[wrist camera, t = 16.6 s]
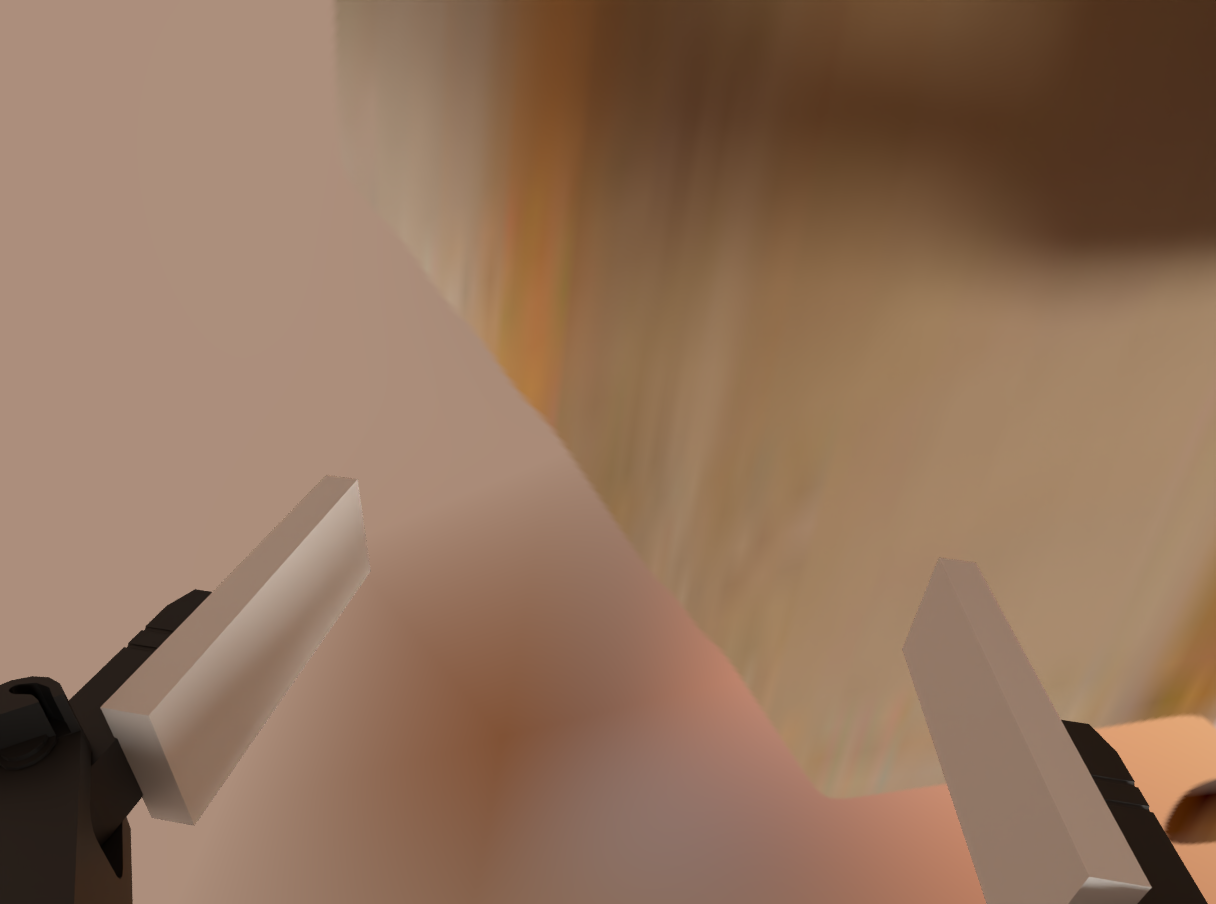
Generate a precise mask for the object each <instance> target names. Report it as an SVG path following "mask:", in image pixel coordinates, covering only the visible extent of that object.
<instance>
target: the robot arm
mask: <svg viewBox="0 0 1216 904" xmlns="http://www.w3.org/2000/svg"><path fill="white" fill-rule="evenodd" d="M370 571H371V570H370V563H369V556H368V548H367V542H366V534H365V528H364V521H363V514H362V507H361V500H360V493H359V486H358V479H352V478H345V477H337V476H330V475H326V476H325V477H324V478H323V479H322V480H321V481H320V482H319V483H318V484H317V485H316V486H315V487H314V488H313V489H312V490H311V491H310V492H309V493H308V494H307V495H306V496H305V497H304V498H303V499H302V500H301V501H300V503H299V504H298V505H297V506H296V507H295V508H294V509H293V510H292V511H291V512H290V513H289V514H288V515H287V516H286V517H285V518H284V519H283V520H282V521H281V522H280V523H279V524H278V525H277V526H276V527H275V528H274V530H272V531H271V532H270V533H269V534H268V535H267V536H266V538H265V539H264V540H263V541H262V542H261V543H260V544H259V545H258V546H257V547H256V548H255V549H254V550H253V551H252V552H251V553H250V554H249V555H248V556H247V557H246V558H245V559H244V560H243V561H242V562H241V563H240V564H239V565H238V566H237V567H236V568H235V569H234V570H233V572H232V573H230V575H229V576H228V577H227V578H226V579H225V580H224V581H223V582H222V583H221V584H220V585H219V586H218V587H217V588H216V589H215V590H214V591H213V592H209V591H202V590H196V589H195V590H193V591H191V592H190V593H188V594H186V595H185V596H183V597H181V598H180V599H178V600H176V601H175V602H173V603H171V604H169V605H167V606H166V607H165V608H164V609H163V610H162V611H161V612H160V613H159V614H158V615H157V616H156V617H155V618H154V619H153V620H152V621H151V622H150V623H149V624H148V625H146V628H145V630H144V631H143V630H142V631H140V632H139V633H138V634H137V635H136V636H135V637H134V638H133V639H132V640H131V641H130V642H129V643H128V647H127V648H125V647H124V648H123V649H122V650H121V651H120V652H119V653H118V654H117V655H116V656H114V657H113V658H112V659H111V660H110V661H109V662H108V663H107V665H105V666H104V667H103V668H102V669H101V670H100V671H99V672H98V673H97V674H96V675H95V676H94V677H93V678H92V679H91V680H90V681H89V682H88V683H87V684H86V685H85V686H83V687H82V689H80V690H79V692H77V693H76V694H75V695H74V696H73V697H72V698H71V699H70V700H69V701H68V699H67V697H66V695H65V693H64V691H63V689H62V687H61V685H60V683H58V682H56V681H54V680H53V679H51V678H49V677H33V676H32V677H27V678H22V679H17V680H11V681H9V682H6V683H4V684H2V685H0V904H132V866H131V829H130V826H129V823H128V820H127V817H126V816H127V815H128V814H129V812H130V811H131V810H132V809H133V808H134V806H135V805H136V804H137V802H138V801H139V800H140V799H141V797H142V798H143V800H144V802H145V804H146V806H147V808H148V811H149V813H150V815H151V817H152V818H156V819H161V820H167V821H172V822H178V823H183V824H188V825H195V824H196V822H197V821H198V820H199V818H200V817H201V815H202V814H203V812H204V811H205V810H206V808H207V807H208V805H209V804H210V802H211V801H212V800H213V798H214V796H215V795H216V794H217V792H218V791H219V789H220V788H221V787H222V785H223V784H224V782H225V780H226V779H227V778H228V776H229V775H230V774H231V772H232V771H233V769H234V768H235V766H236V765H237V763H238V762H239V761H240V759H241V758H242V756H243V755H244V753H245V752H246V750H247V749H248V747H249V746H250V744H251V743H252V742H253V740H254V739H255V737H256V736H257V735H258V733H259V732H260V730H261V729H262V727H263V726H264V724H265V723H266V722H267V720H268V719H269V717H270V716H271V714H272V713H273V711H274V710H275V709H276V707H277V706H278V704H279V703H280V701H281V700H282V698H283V697H284V696H285V694H286V693H287V691H288V690H289V688H290V687H291V685H292V684H293V683H294V681H295V680H296V678H297V677H298V675H299V674H300V672H301V671H302V670H303V668H304V667H305V665H306V664H307V662H308V661H309V659H310V658H311V657H312V655H313V654H314V652H315V651H316V649H317V648H318V646H319V645H320V643H321V642H322V640H323V639H324V638H325V636H326V635H327V633H328V632H329V630H330V629H331V628H332V626H333V625H334V623H335V622H336V620H337V619H338V618H339V616H340V615H341V613H342V612H343V610H344V609H345V607H346V606H347V605H348V603H349V602H350V600H351V599H352V597H353V596H354V594H355V593H356V592H357V590H358V589H359V587H360V586H361V584H362V583H363V581H364V580H365V579H366V577H367V576H368V574H369V573H370ZM902 650H903V653H904V656H905V659H906V662H907V665H908V668H909V671H910V674H911V677H912V680H913V683H914V686H915V689H916V692H917V695H918V698H919V701H920V704H921V707H922V710H923V713H924V716H925V719H926V722H927V725H928V728H929V731H930V734H931V737H932V740H933V743H934V746H935V749H936V752H937V755H938V758H939V761H940V764H941V767H942V770H943V774H944V777H945V780H946V783H947V786H948V789H949V791H950V795H951V798H952V801H953V804H954V807H955V810H956V813H957V816H958V819H959V822H960V825H961V828H962V831H963V834H964V837H965V840H966V843H967V846H968V849H969V852H970V855H971V858H972V861H973V864H974V867H975V870H976V873H977V876H978V879H979V882H980V885H981V888H982V891H983V894H984V897H985V900H986V903H987V904H1208V903H1207V902H1206V900H1205V898H1204V897H1203V895H1202V893H1201V892H1200V890H1199V888H1198V887H1197V885H1196V883H1195V882H1194V880H1193V878H1192V877H1191V875H1190V873H1189V872H1188V870H1187V868H1186V867H1185V865H1184V863H1183V862H1182V860H1181V859H1180V857H1179V855H1178V853H1177V852H1176V850H1175V849H1174V847H1173V845H1172V843H1171V842H1170V840H1169V838H1168V837H1167V835H1166V833H1165V832H1164V830H1163V828H1162V827H1161V825H1160V823H1159V822H1158V820H1157V818H1156V817H1155V815H1154V813H1152V812H1150V811H1149V805H1148V803H1147V802H1146V800H1145V798H1144V797H1143V795H1142V793H1141V792H1140V790H1139V788H1137V787H1135V786H1134V780H1133V778H1132V777H1131V775H1130V773H1129V771H1128V770H1127V768H1126V766H1125V765H1124V763H1123V762H1122V760H1121V758H1120V757H1119V755H1118V753H1117V752H1116V751H1115V750H1114V749H1113V748H1112V747H1111V746H1110V745H1109V744H1108V743H1107V742H1106V741H1105V740H1104V739H1103V738H1102V737H1101V736H1100V735H1099V734H1098V733H1097V732H1096V731H1095V730H1094V729H1093V728H1092V727H1091V726H1090V725H1089V724H1084V723H1078V722H1071V721H1065V720H1061V719H1060V717H1059V715H1058V713H1057V712H1056V710H1055V708H1054V706H1053V704H1052V702H1051V701H1050V699H1049V697H1048V695H1047V693H1046V691H1045V689H1044V688H1043V686H1042V684H1041V682H1040V680H1039V678H1038V677H1037V675H1036V673H1035V671H1034V669H1033V667H1032V665H1031V664H1030V662H1029V660H1028V658H1027V656H1026V654H1025V653H1024V651H1023V649H1022V647H1021V645H1020V643H1019V641H1018V640H1017V638H1016V636H1015V634H1014V632H1013V630H1012V629H1011V627H1010V625H1009V623H1008V621H1007V619H1006V617H1005V616H1004V614H1003V612H1002V610H1001V608H1000V606H999V605H998V603H997V601H996V599H995V597H994V595H993V593H992V592H991V590H990V588H989V586H988V584H987V582H986V581H985V579H984V577H983V575H982V573H981V571H980V569H979V568H978V566H977V564H976V562H969V561H961V560H954V559H947V558H939V559H938V561H937V564H936V566H935V569H934V571H933V574H932V576H931V579H930V581H929V583H928V586H927V588H926V591H925V593H924V596H923V598H922V601H921V603H920V606H919V608H918V611H917V613H916V616H915V618H914V621H913V623H912V626H911V628H910V631H909V633H908V636H907V638H906V641H905V643H904V646H903V648H902Z"/></svg>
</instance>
